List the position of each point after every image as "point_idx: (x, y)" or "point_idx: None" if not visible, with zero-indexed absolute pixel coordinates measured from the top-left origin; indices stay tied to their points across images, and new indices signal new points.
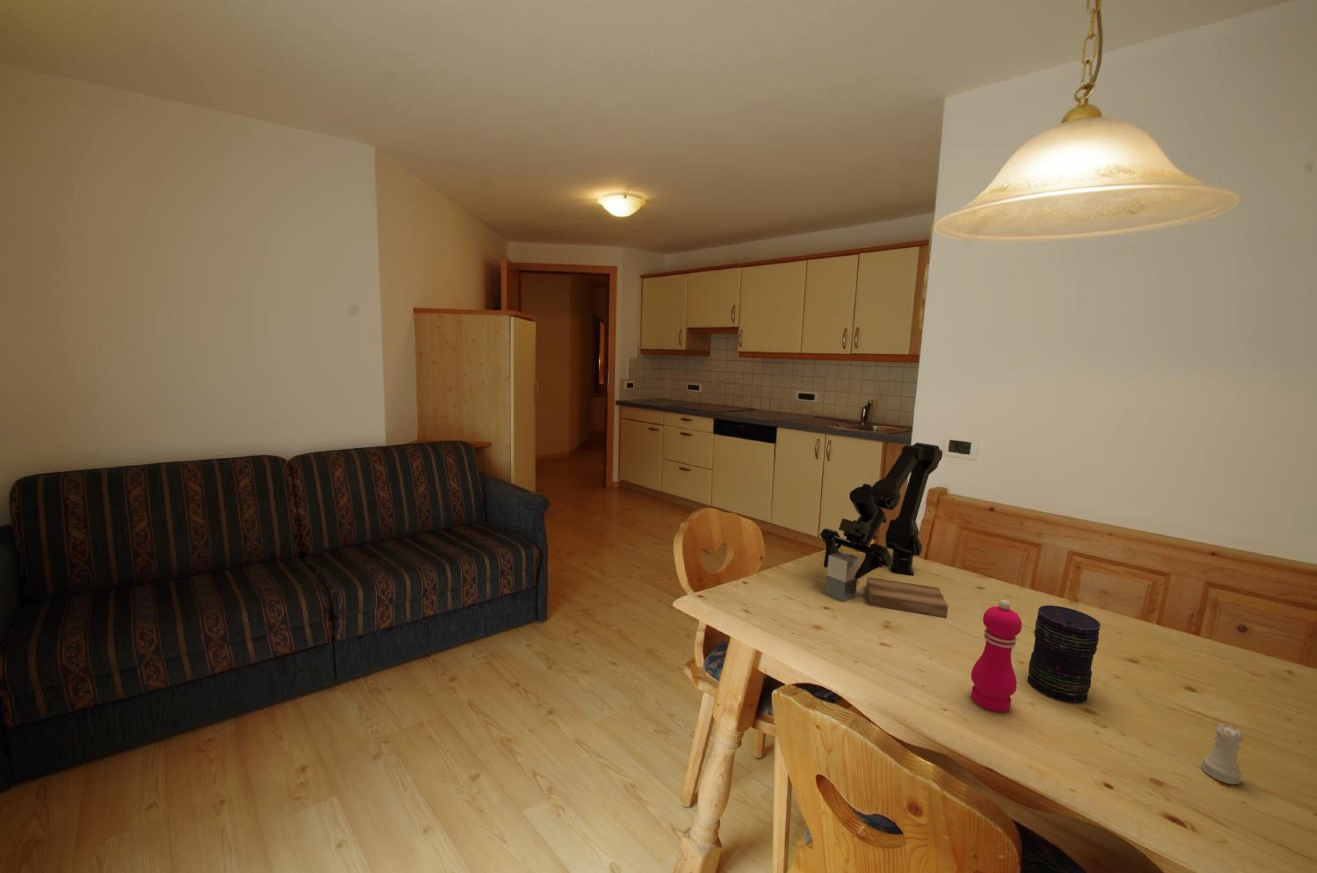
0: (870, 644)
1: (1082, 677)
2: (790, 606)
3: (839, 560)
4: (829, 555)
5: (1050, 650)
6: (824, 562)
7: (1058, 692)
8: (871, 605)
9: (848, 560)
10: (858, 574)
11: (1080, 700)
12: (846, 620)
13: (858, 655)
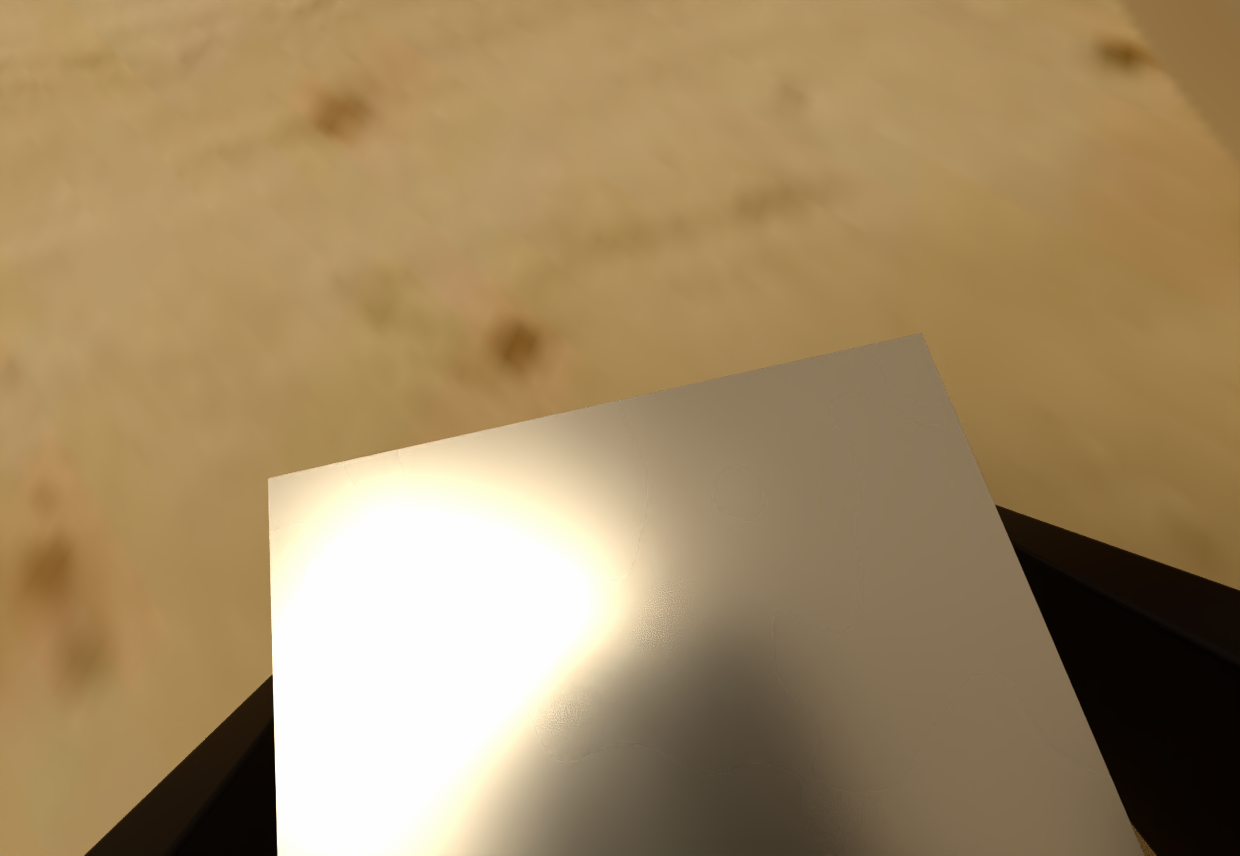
0: (11, 258)
1: None
2: (645, 127)
3: (549, 428)
4: (899, 340)
5: None
6: (1018, 517)
7: None
8: None
9: (324, 603)
10: (240, 714)
11: None
12: (296, 344)
13: (3, 118)
